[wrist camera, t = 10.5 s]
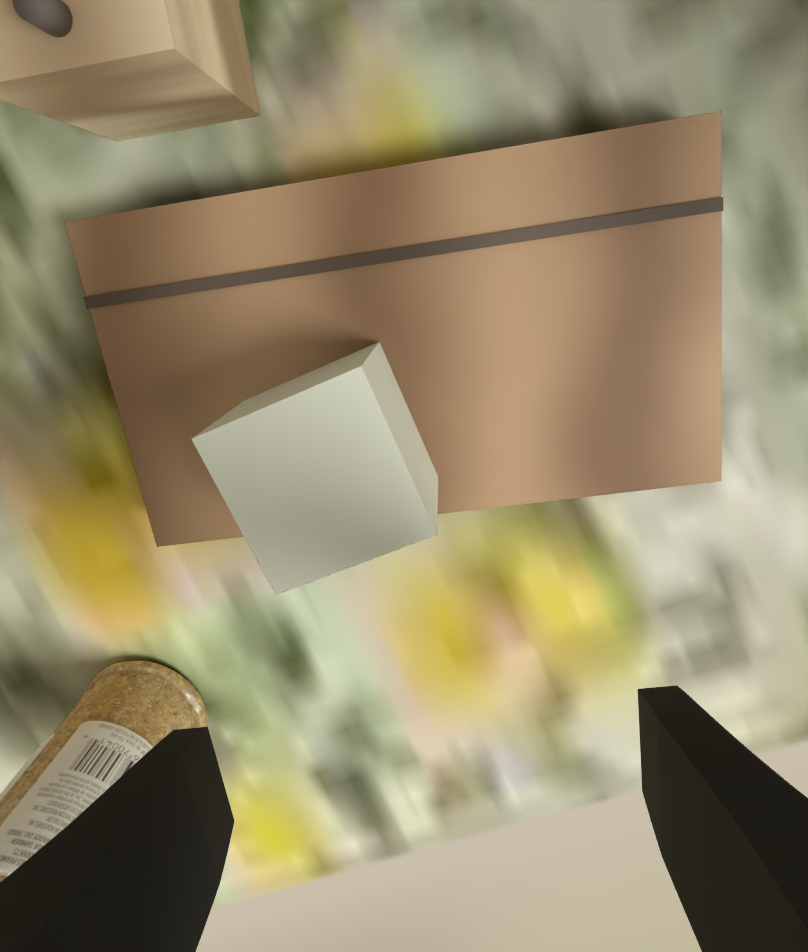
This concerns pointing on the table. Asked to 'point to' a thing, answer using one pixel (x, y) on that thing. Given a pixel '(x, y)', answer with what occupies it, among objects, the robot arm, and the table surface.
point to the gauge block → (127, 63)
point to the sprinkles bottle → (92, 752)
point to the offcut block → (324, 470)
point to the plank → (436, 315)
